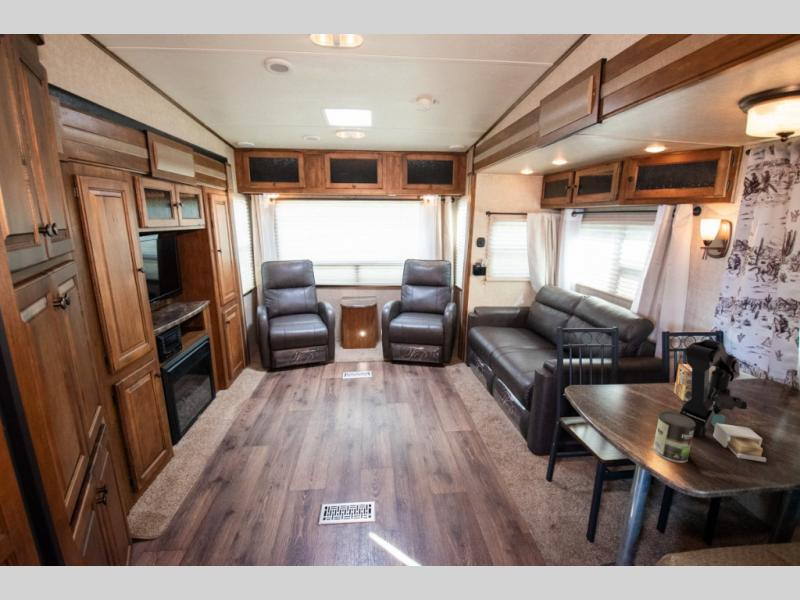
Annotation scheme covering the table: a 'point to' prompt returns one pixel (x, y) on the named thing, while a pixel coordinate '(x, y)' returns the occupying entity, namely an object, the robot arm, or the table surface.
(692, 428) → the coffee can
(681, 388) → the candy box
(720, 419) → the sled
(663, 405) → the table surface
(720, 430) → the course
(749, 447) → the block
